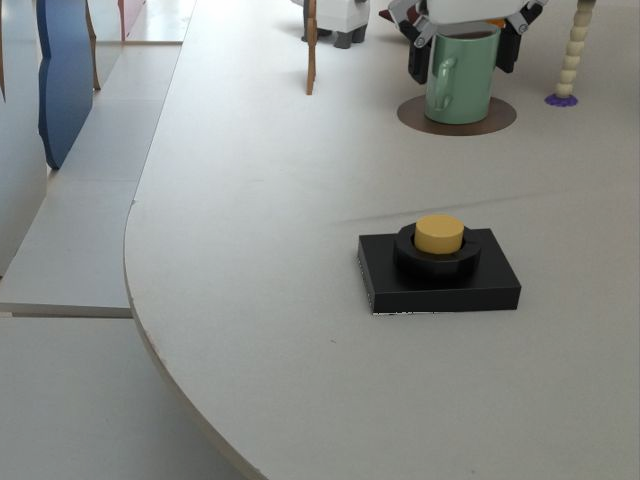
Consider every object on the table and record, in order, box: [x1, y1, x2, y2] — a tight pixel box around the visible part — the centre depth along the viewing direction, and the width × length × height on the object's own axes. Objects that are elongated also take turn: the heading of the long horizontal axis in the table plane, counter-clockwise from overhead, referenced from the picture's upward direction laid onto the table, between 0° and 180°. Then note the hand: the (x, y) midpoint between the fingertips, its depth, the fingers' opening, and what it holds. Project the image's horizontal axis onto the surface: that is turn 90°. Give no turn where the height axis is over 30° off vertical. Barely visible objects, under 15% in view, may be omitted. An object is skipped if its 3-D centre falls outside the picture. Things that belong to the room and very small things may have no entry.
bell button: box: [414, 213, 465, 254], centre depth 62 cm, size 4×4×2 cm
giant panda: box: [289, 0, 371, 49], centre depth 115 cm, size 15×6×10 cm, turn 43°
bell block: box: [357, 221, 523, 314], centre depth 64 cm, size 11×9×4 cm
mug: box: [423, 21, 501, 125], centre depth 85 cm, size 10×7×9 cm
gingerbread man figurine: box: [306, 0, 318, 96], centre depth 97 cm, size 9×4×12 cm, turn 167°
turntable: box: [396, 94, 518, 137], centre depth 89 cm, size 13×13×1 cm
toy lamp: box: [543, 0, 597, 108], centre depth 84 cm, size 5×5×17 cm
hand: (460, 74), depth 86 cm, fingers open, 9 cm apart
